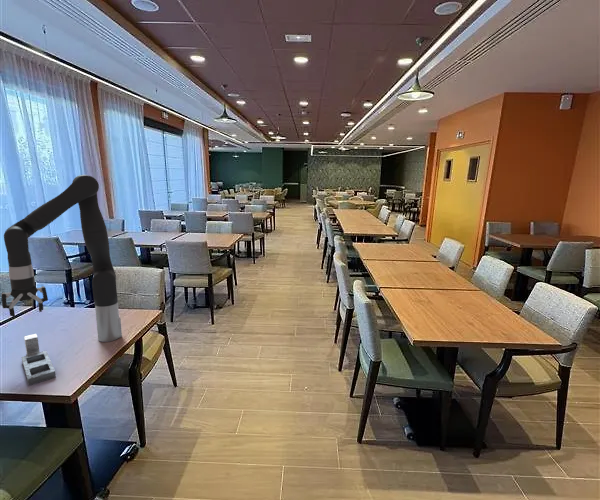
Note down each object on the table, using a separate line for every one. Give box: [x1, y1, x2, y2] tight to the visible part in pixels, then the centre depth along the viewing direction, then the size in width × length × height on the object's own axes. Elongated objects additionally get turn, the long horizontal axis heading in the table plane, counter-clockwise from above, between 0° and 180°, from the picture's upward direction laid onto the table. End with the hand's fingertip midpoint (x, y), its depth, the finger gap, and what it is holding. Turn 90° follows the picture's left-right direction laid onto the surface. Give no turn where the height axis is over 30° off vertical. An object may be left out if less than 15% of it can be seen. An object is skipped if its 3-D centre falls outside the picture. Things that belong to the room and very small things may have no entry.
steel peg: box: [23, 333, 40, 356], centre depth 138 cm, size 4×4×8 cm
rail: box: [21, 350, 57, 386], centre depth 128 cm, size 8×20×2 cm, turn 44°
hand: (27, 313), depth 135 cm, fingers open, 8 cm apart
